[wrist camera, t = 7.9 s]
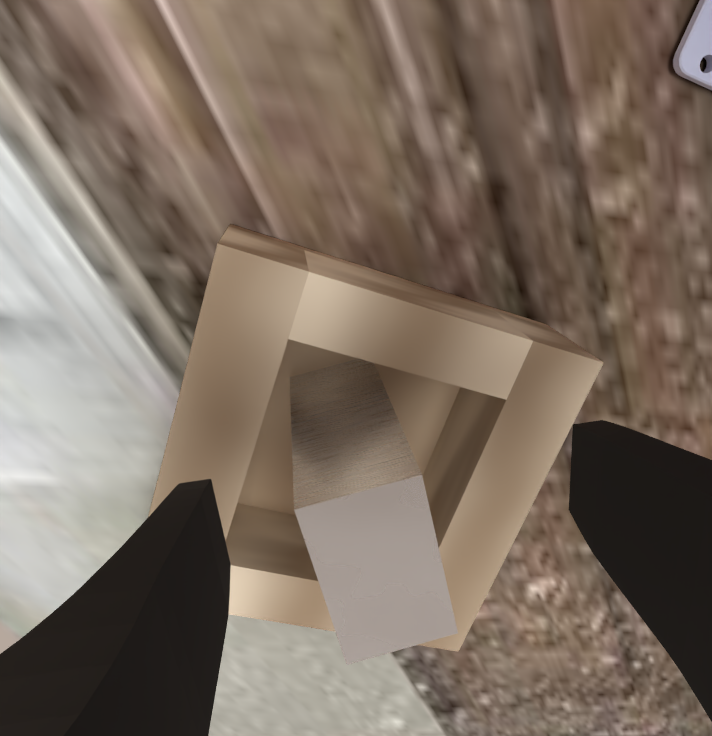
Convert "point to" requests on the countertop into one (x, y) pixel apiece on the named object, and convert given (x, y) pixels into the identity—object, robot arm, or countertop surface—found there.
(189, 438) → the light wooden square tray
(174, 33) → the countertop surface
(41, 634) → the robot arm
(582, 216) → the countertop surface
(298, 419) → the brushed grey metal block
